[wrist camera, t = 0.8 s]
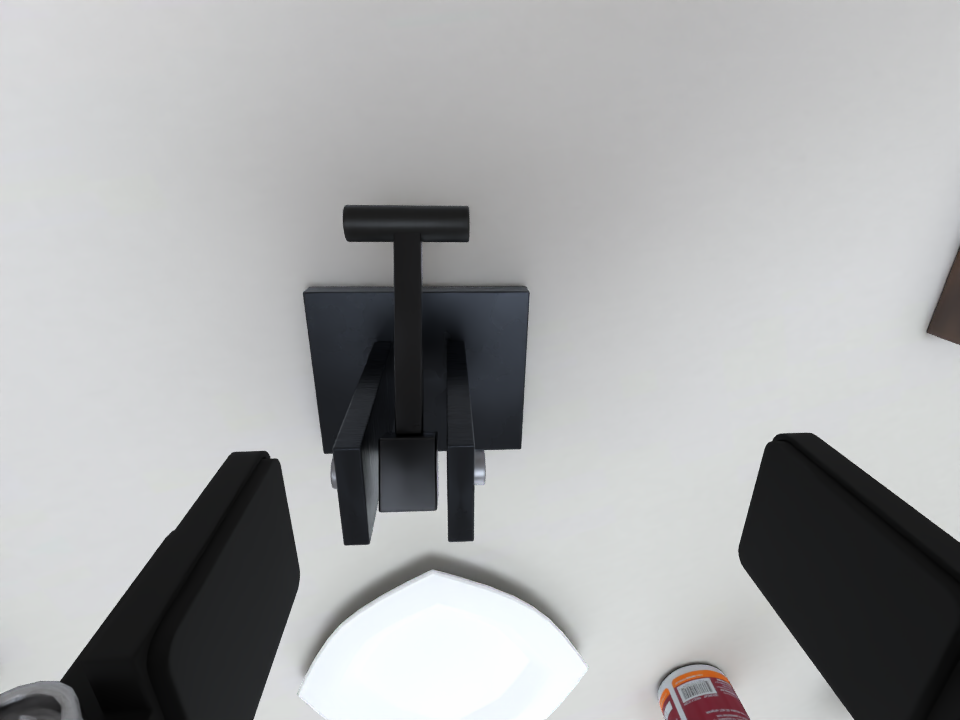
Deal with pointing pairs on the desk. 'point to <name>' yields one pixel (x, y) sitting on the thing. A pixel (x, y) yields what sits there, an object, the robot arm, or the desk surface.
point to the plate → (443, 657)
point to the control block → (948, 308)
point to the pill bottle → (699, 695)
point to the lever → (407, 345)
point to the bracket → (447, 388)
